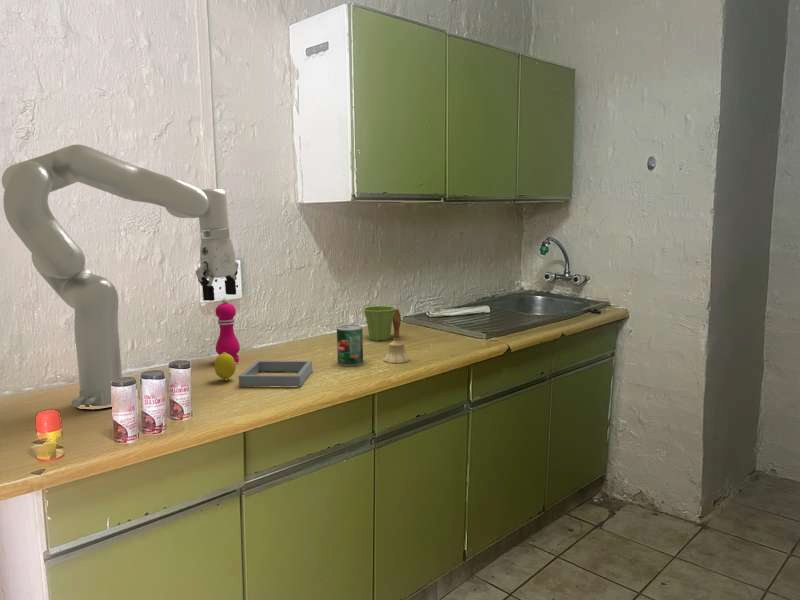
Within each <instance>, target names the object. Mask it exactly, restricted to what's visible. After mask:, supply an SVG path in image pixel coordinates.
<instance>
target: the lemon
mask: <svg viewBox="0 0 800 600" xmlns="http://www.w3.org/2000/svg"><path fill="white" fill-rule="evenodd" d="M214 371H215V374H216V375H217V377H219V378H220V379H223V380H224V379H227V380H229V379H230V378H231V377H232V376H233V375H234V374H235V371H236V363H235V361H234V359H233V357H232V356H231V355H230V354H227V353H226V352H223V353H222V354H220V355H219V354H218V356H217V357H216V358H215V362H214Z"/></svg>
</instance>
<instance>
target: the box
mask: <svg viewBox="0 0 800 600" xmlns="http://www.w3.org/2000/svg"><path fill="white" fill-rule="evenodd" d="M259 371H289V372H288V373H296V374H259V373H260V372H259ZM290 371H291V372H290ZM258 372H259V373H258ZM312 372H313V360H255V361H254V362H253V363H252V364H251V365H250V366H248V367H247V369H245V370H244V371H243V372H242V373H240V374H239V376H238V385H239V386H301V385H302V386H303V384H304V383H305V382H304V381H306V380H307V379H308V377H309V376H310V375H311V374H312ZM257 373H258V374H257ZM256 374H257V375H256ZM306 378H307V379H306ZM303 382H304V383H303ZM239 386H238V387H239ZM302 386H301V387H302Z"/></svg>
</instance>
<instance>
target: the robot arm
mask: <svg viewBox="0 0 800 600" xmlns="http://www.w3.org/2000/svg"><path fill="white" fill-rule="evenodd" d="M76 183H80V184H84V185H85V186H89V187H91V188H94V189H97V190H100V191H103V192H106V193H109V194H111V195H114V196H116V197H120V198H122V199H125V200H130V201H133V202H138V203H139V202H140V203H147V204H153V205H156V206H160V207H162V208H165V210H166V211H167V212H168V214H170V215H171V216H173V217H175V218H179V219H198V221H199V223H198V224H199V233H200V234H199V235H200V245H199V247H200V248H199V262H200V263H199V264H200V266H199V267H198V268H197V269H196V270H195V276H196V277H197V281H198V283H200V286H201V287H202V297H203V298H202V299H203V301H205V302H206V301H208V302H210V301H212V302H213V301H215V289H214V285H213V282H214V279H219V278H224V279H225V280H224V289H225V290H224V291H225V294H226V295H229V296H230V295H232V296H233V295H234V296H235V295H237V286H236V280H237V275H238V270H239V263H238V262H236V257H235V256H236V255H235V250H234V245H233V242H232V239H231V237H230V228H229V227H230V226H229V214H228V204H227V203H228V201H227V194H226V191H225V190H224V189H222V188H204V189H199V188H198V187H195V186H193V185H191V184H189V183H186V182H184V181H181V180H179V179H177V178H176V179H175V178H173V177H170V176H167V175H165V174H161V173H158V172H155V171H152V170H149V169H146V168H143V167H140V166H137V165H134V164H132V163H129V162H127V161H124V160H122V159H119V158H117V157H115V156H112V155H110V154H107V153H105V152H103V151H100V150H97V149H94V148H93V147H90V146H87V145H83V144H71V145H67V146H64V147H62V148H60V149H57V150H54V151H52V152H49V153H46V154H43V155H40V156H38V157H33V158H30V159H28V160H23V161H20V162H18V163H17V162H16V163H15V164H12V165H10V166H9V167H7V168H5V170H4V172H3V173H2V176H1V186H2V187H3V189H4V191H3V200H2V201H3V203H2V205H3V210H4V214H5V215H4V216H5V218H6V220H7V223H8V225H9V226H10V227H11V229H12V231H13V232H14V233H15V234H16V235H17V237H18V238H19V239H20V241H21V243H23V244H24V246H25V247H26V248H27V249H28V251H30V253H31V262H32V264H33V266H34V269H36V271H37V272H38V273H39V275H40V276H41V277H42V279H44V280H45V282H46V283H47V284H48V285H49V286H50V287H51V289H53V290H54V292H55V293H56V294H57V295H58V297H60V298H61V299H62V301H63V302H64V303H65V304H66V305H68V306H69V307H70V308H72V309H73V310H74V326H73V327H74V342H75V349H76V350H75V351H76V361H77V371H78V380H79V389H80V390H79V393H78V394H79V396H78V397H76V398H74V399H73V400H72V401H71V405H72V407H74V408H75V407H79V406H80V405H85V407H90V406H89V405H92V406H107V405H111V381H112V380H114V379H117V378H122V379H123V369H122V358H121V357H122V356H121V347H120V337H119V319H118V318H119V316H118V315H119V294H118V291H117V289H116V287H115V285H114V284H113V282H111V280H109V279H107V278H106V277H104V276H100V275H97V274H94V273H93V272H92V271H91V270H90V268H89V267H88V266H87V265H86V256H85V254H84V251H83V250H82V248H81V247H80V246H79V245H78V244H77V243H76V242H75V241H74V240H73V239H72V237H71V236H70V235H69V234H68V232H67V231H66V230H65V229H64V228H63V226H62V225H61V224H60V223H59V221H58V220H57V219H56V217H55V216H54V215H53V212H52V211H51V210H50V207H49V194H51V193H52V192H54V191H55V192H56V191H58V190H60V189H63V188H66V187H68V186H71V185H73V184H76Z"/></svg>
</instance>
